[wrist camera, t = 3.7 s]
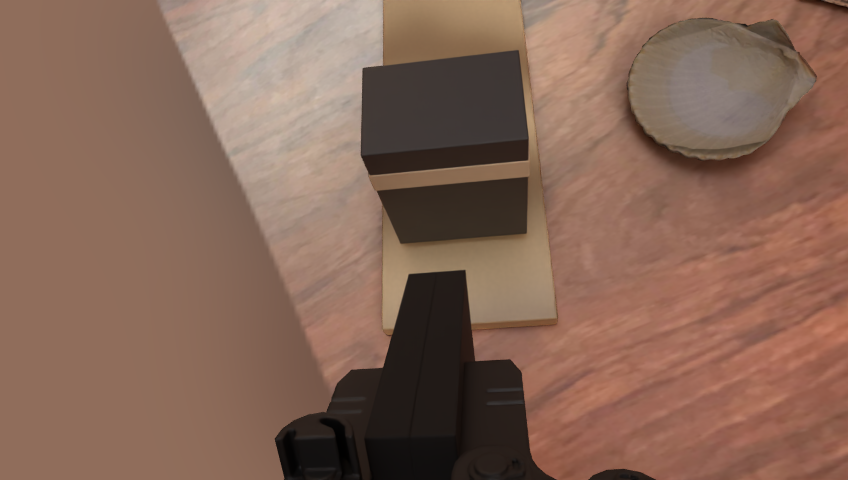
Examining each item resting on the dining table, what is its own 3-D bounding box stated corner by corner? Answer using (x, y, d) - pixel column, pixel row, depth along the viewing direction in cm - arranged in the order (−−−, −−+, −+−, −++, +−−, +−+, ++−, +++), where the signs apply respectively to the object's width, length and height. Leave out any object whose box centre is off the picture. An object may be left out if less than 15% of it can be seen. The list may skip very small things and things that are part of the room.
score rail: (557, 325, 28) (562, 297, 24) (385, 335, 29) (366, 310, 25) (505, -116, 40) (504, -177, 37) (386, -98, 41) (373, -156, 38)
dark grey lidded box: (528, 235, 28) (530, 140, 21) (399, 245, 29) (359, 157, 22) (520, 159, 30) (520, 47, 23) (398, 171, 31) (360, 66, 24)
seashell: (612, 89, 35) (659, 190, 30) (606, 46, 32) (655, 148, 27) (765, 38, 33) (841, 137, 28) (770, -12, 31) (854, 87, 26)
